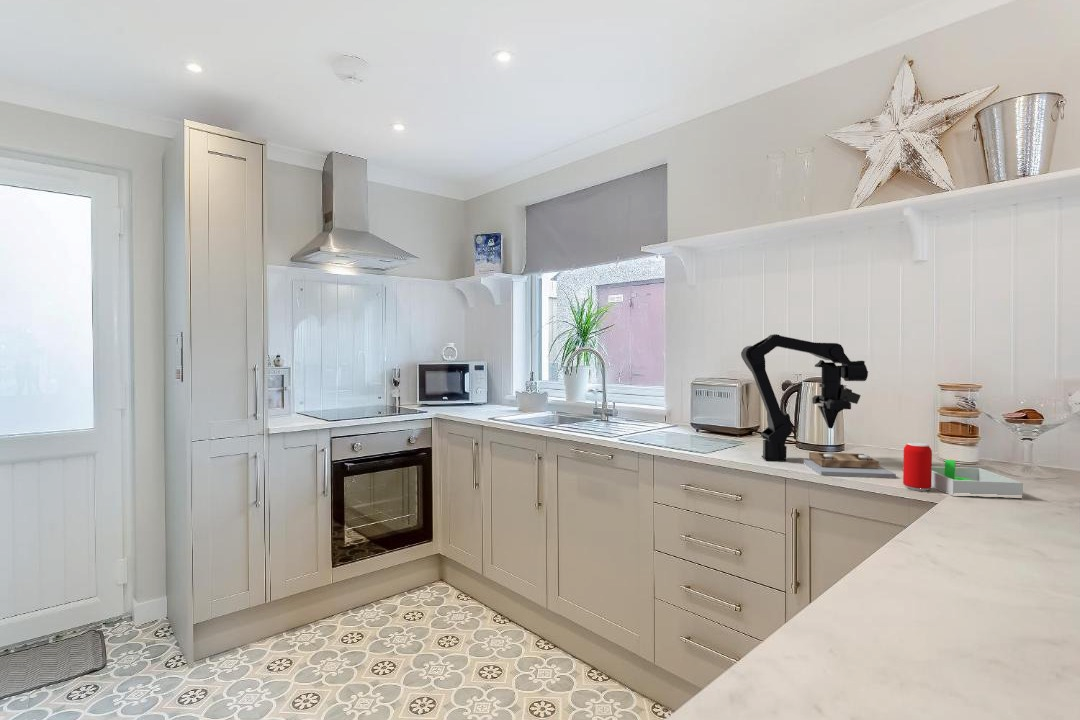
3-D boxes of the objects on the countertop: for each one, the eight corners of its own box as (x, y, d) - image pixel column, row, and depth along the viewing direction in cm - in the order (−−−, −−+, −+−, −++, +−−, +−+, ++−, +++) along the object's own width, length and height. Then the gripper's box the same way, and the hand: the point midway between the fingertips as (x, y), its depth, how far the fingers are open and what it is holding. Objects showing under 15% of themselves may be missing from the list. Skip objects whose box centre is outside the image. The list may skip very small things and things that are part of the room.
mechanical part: (973, 495, 141) (973, 464, 141) (944, 491, 145) (944, 461, 144) (974, 486, 150) (974, 457, 150) (947, 482, 154) (947, 454, 154)
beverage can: (927, 493, 142) (928, 446, 142) (899, 488, 147) (900, 443, 147) (934, 489, 146) (934, 444, 146) (907, 484, 151) (907, 441, 151)
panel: (821, 466, 167) (821, 459, 167) (809, 458, 179) (809, 452, 179) (879, 468, 165) (879, 461, 165) (862, 460, 177) (862, 453, 176)
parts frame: (952, 496, 139) (953, 480, 139) (918, 480, 156) (918, 466, 156) (1022, 499, 137) (1022, 483, 137) (979, 482, 154) (980, 468, 154)
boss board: (821, 475, 162) (821, 460, 162) (802, 462, 180) (802, 449, 179) (895, 478, 158) (896, 462, 158) (869, 464, 176) (869, 450, 176)
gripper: (869, 383, 172) (868, 433, 172) (846, 379, 190) (846, 424, 190) (831, 382, 173) (830, 432, 174) (812, 379, 192) (811, 424, 192)
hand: (830, 428), depth 182 cm, fingers closed
